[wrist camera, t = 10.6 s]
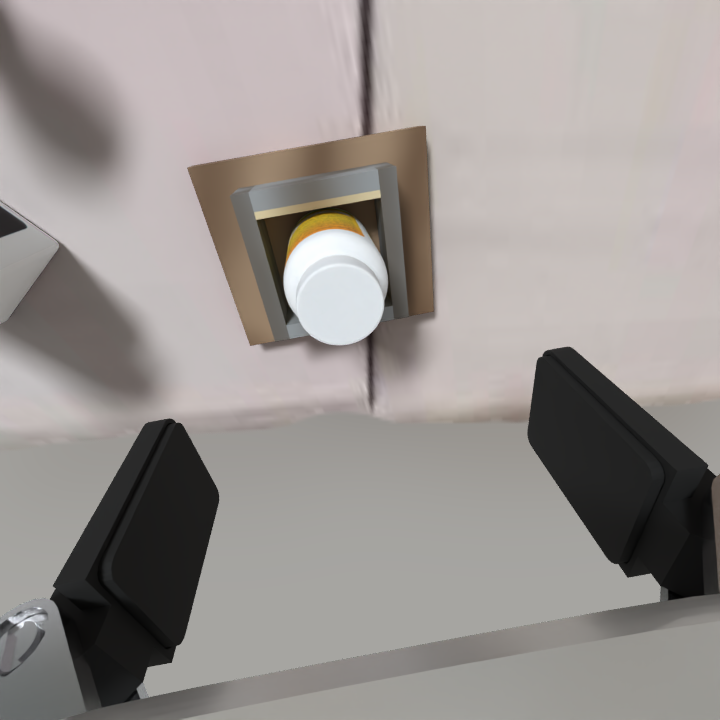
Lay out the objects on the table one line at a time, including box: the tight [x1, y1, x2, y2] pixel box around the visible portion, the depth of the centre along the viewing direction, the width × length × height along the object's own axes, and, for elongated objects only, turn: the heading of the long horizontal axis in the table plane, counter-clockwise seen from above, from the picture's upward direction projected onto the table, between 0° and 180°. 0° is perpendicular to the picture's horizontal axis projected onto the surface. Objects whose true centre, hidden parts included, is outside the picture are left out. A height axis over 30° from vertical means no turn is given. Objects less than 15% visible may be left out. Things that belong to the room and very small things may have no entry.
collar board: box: [187, 126, 434, 346], centre depth 24 cm, size 14×12×4 cm
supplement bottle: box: [284, 207, 388, 345], centre depth 21 cm, size 5×5×10 cm
